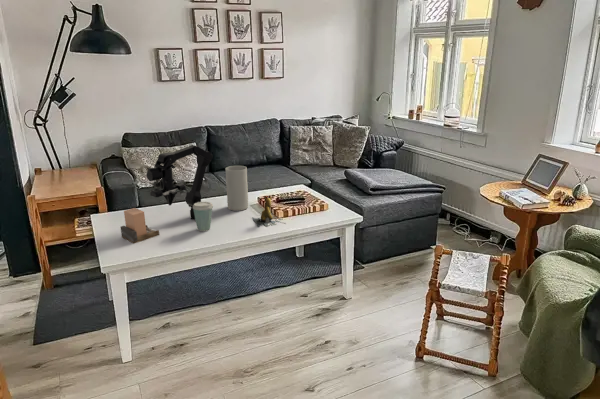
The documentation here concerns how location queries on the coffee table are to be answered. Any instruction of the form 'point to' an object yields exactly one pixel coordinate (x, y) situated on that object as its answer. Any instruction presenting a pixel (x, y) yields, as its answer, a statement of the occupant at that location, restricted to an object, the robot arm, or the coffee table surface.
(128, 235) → the roller track
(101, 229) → the coffee table surface
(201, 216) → the disposable coffee cup
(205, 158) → the robot arm
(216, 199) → the coffee table surface
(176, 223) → the coffee table surface
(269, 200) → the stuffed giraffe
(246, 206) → the cylinder vase
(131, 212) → the terracotta slab
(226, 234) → the coffee table surface
